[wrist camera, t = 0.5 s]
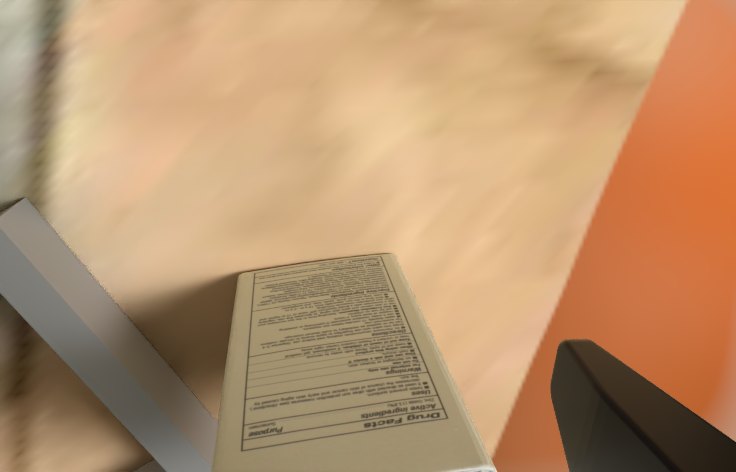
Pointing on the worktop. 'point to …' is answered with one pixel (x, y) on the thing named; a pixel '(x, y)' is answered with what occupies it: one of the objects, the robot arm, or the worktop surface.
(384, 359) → the skincare box
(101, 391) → the holder
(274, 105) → the worktop surface
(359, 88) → the worktop surface
